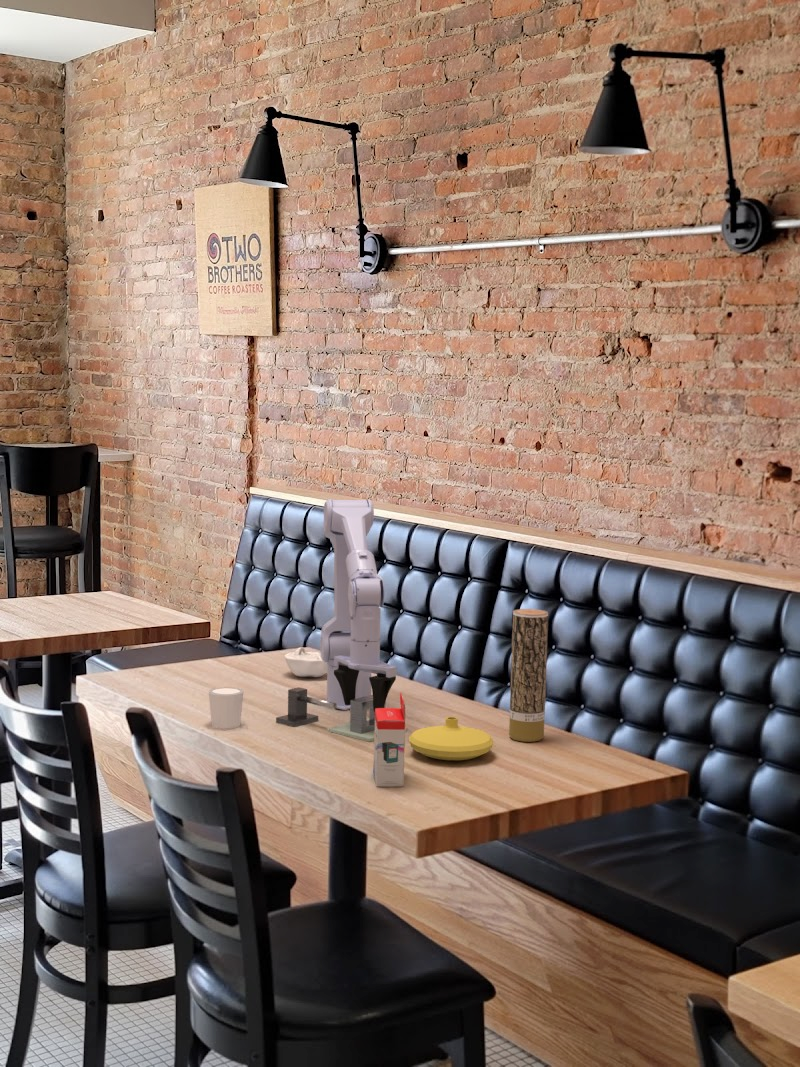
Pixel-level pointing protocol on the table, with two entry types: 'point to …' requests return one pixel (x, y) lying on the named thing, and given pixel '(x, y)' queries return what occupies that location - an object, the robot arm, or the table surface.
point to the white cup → (226, 707)
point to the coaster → (345, 730)
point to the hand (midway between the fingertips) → (363, 707)
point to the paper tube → (528, 674)
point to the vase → (451, 741)
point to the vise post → (301, 708)
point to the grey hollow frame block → (362, 715)
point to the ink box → (389, 746)
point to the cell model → (306, 663)
